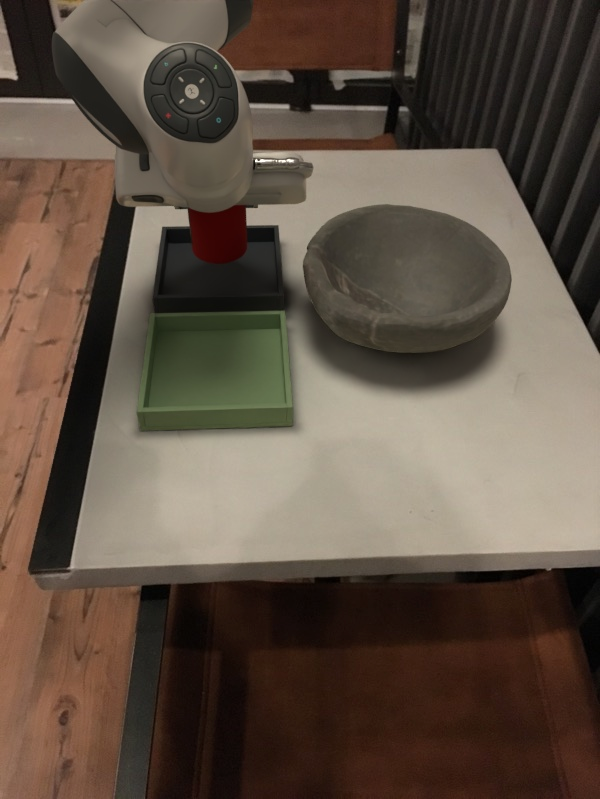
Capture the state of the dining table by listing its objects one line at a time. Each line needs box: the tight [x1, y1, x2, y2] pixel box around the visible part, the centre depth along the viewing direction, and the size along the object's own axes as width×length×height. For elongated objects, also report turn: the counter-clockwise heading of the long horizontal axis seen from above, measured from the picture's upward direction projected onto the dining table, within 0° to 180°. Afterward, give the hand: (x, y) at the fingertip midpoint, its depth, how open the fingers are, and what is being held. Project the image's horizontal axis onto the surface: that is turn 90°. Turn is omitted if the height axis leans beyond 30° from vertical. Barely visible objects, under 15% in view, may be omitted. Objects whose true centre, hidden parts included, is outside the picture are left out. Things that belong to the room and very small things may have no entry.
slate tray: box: [151, 224, 285, 314], centre depth 85 cm, size 15×15×3 cm
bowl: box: [302, 203, 513, 354], centre depth 77 cm, size 23×22×10 cm
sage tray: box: [136, 310, 294, 432], centre depth 73 cm, size 15×15×3 cm
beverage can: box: [186, 205, 248, 264], centre depth 80 cm, size 7×7×12 cm
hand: (216, 201), depth 80 cm, fingers closed on beverage can, 7 cm apart
